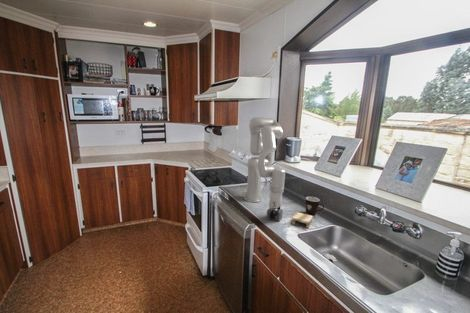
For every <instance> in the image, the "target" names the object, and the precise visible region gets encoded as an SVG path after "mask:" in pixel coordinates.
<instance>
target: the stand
mask: <svg viewBox="0 0 470 313" xmlns="http://www.w3.org/2000/svg"><path fill="white" fill-rule="evenodd" d="M313 218H314V215H308V214H306V213H302V212H299V211H296V212H295V213H294V214H293V216H292V217H291V223H290V224H291V225H295V224H296V222H299V223H303V224H305V229H308V230H309V229H310V226H311V224H312V223H313Z"/></svg>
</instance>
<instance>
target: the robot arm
mask: <svg viewBox="0 0 470 313" xmlns="http://www.w3.org/2000/svg"><path fill="white" fill-rule="evenodd" d="M248 128H249V129H248V130H249V132H250V147H249V151H250V154H251V155H252V157H250V158H249V159H247V162H246V163H247V182H246V191H243V190H242V191H241V195H242V196H243V199H244V200H245V201H246V202H248V203H258V202H261V201H262V197H260V192H261V191H260V190H261V180H262V179H261V178H263V179H269V178H271V186H270V192H271V193H270V197H269V205H268V207H269V208H270V218H271V219H275V210H276V209H281V206H282V202H283V193H284V192H285V191H284V190H285V180H286V170H285V169H283V168H281V167H280V165H272V163H273V162H272V161H273V152H275V151H276V150H277V144H276V143H277V142H276V139H281V138H283V134H284V131H283V128H282V125H281V124H280V123H278V121H277V120H276V119H275V118H273V117H263V116H262V117H258V116H257V117H253V118H251V119H250V120H249V124H248ZM253 156H254V157H253ZM273 209H274V210H273Z"/></svg>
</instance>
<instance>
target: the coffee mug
mask: <svg viewBox="0 0 470 313" xmlns="http://www.w3.org/2000/svg"><path fill="white" fill-rule="evenodd" d="M320 205H321V206H322V208H321V209H318V207H319V206H320ZM324 208H325V207H324V204H323V203H320V199H319V198H318V197H314V196H306V197H305V214H307V215H311V216H316V214H317V212H320V211H323V209H324Z"/></svg>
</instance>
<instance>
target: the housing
mask: <svg viewBox="0 0 470 313" xmlns="http://www.w3.org/2000/svg"><path fill="white" fill-rule="evenodd" d="M273 210H274V209H273ZM283 213H284V212H283V209H281V208H280V209H276V210H275V219H271V218H270V207H269V208H268V209H266V219H268V220H271V221H275V222H281V220H282V219H283Z"/></svg>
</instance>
